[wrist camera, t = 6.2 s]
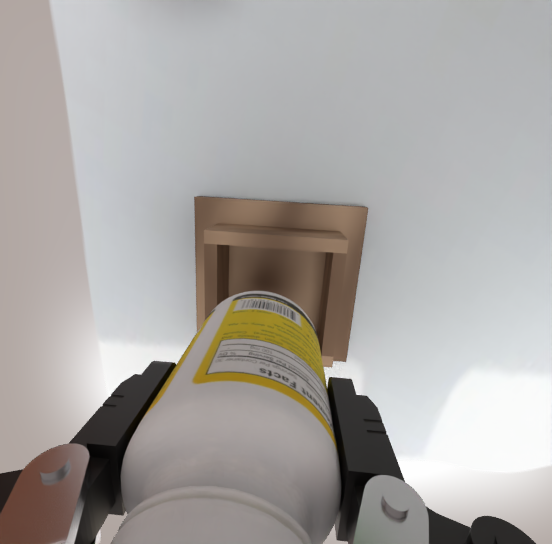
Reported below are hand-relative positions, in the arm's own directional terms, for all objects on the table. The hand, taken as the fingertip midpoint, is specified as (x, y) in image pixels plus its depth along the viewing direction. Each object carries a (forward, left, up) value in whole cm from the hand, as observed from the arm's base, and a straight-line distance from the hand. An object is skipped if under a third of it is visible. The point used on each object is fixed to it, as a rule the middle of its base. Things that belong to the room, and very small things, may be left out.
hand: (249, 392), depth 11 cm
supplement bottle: (0, 0, -4) cm, 4 cm away
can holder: (0, 0, -13) cm, 13 cm away
